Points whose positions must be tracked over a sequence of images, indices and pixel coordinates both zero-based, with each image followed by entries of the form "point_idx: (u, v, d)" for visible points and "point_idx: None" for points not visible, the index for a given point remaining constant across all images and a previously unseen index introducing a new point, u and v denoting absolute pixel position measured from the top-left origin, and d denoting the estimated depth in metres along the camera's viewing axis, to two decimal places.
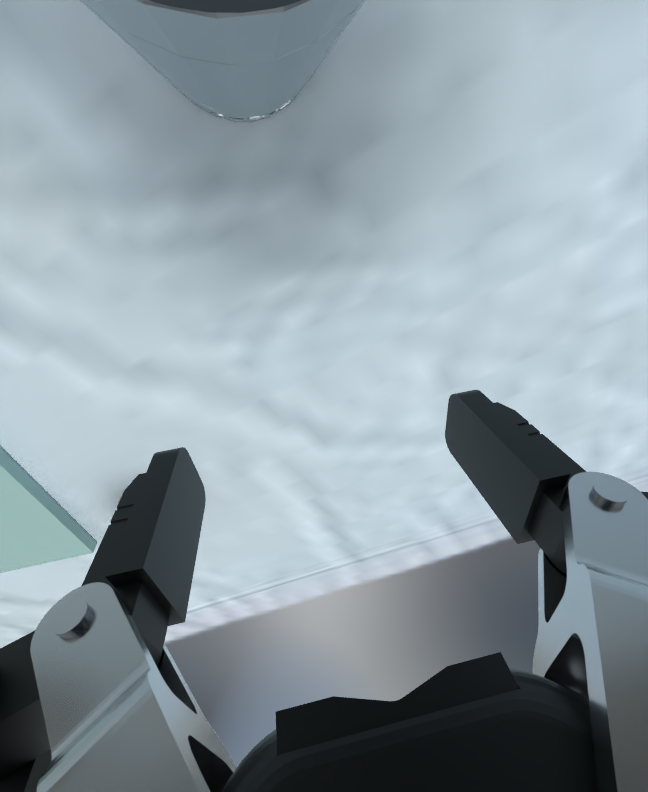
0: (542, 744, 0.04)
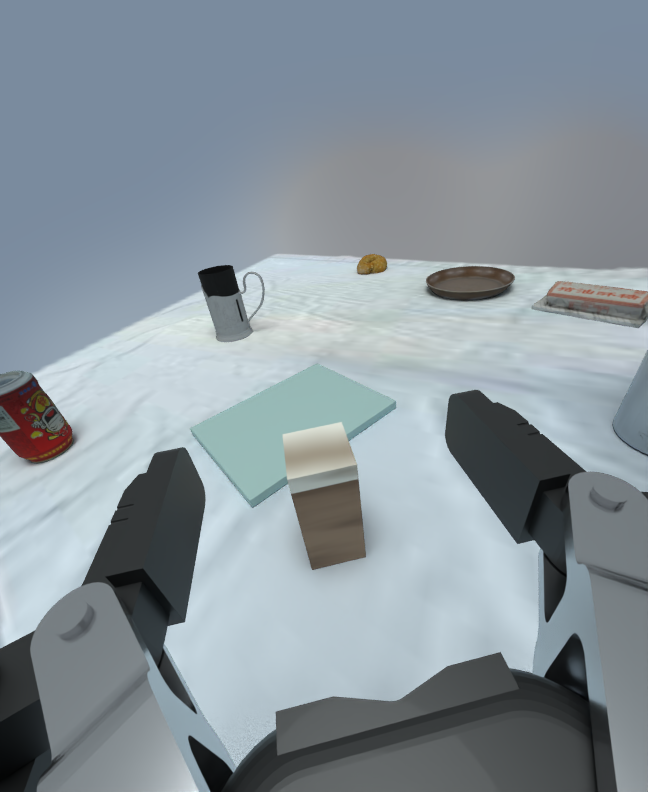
0: (542, 745, 0.04)
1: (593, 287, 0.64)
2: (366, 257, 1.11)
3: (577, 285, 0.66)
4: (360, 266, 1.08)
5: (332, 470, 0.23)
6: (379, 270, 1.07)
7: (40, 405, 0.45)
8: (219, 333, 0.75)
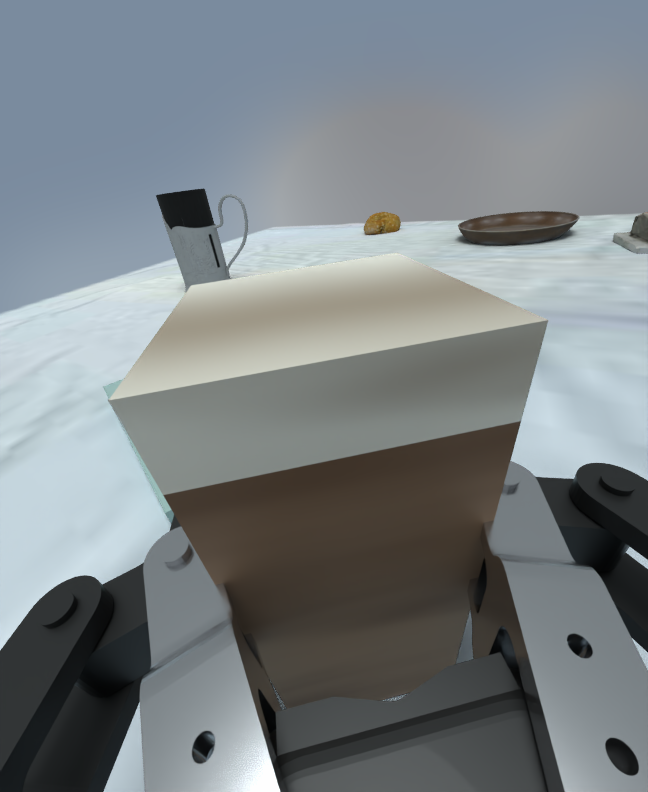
0: (495, 763, 0.04)
1: None
2: (375, 215, 0.92)
3: None
4: (368, 225, 0.89)
5: (401, 351, 0.04)
6: (391, 229, 0.88)
7: None
8: (188, 283, 0.57)
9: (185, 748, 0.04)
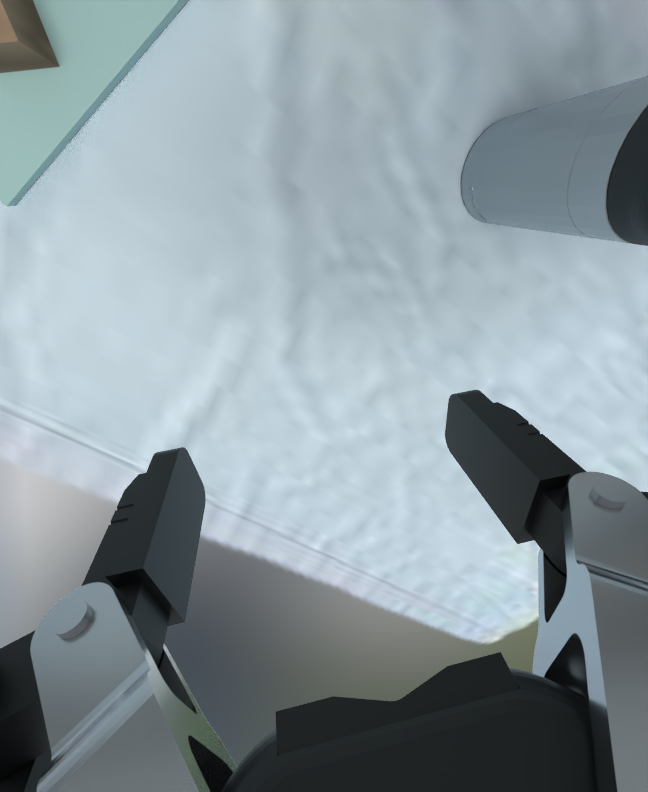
0: (542, 744, 0.04)
1: None
2: None
3: None
4: None
5: None
6: None
7: None
8: None
9: None
